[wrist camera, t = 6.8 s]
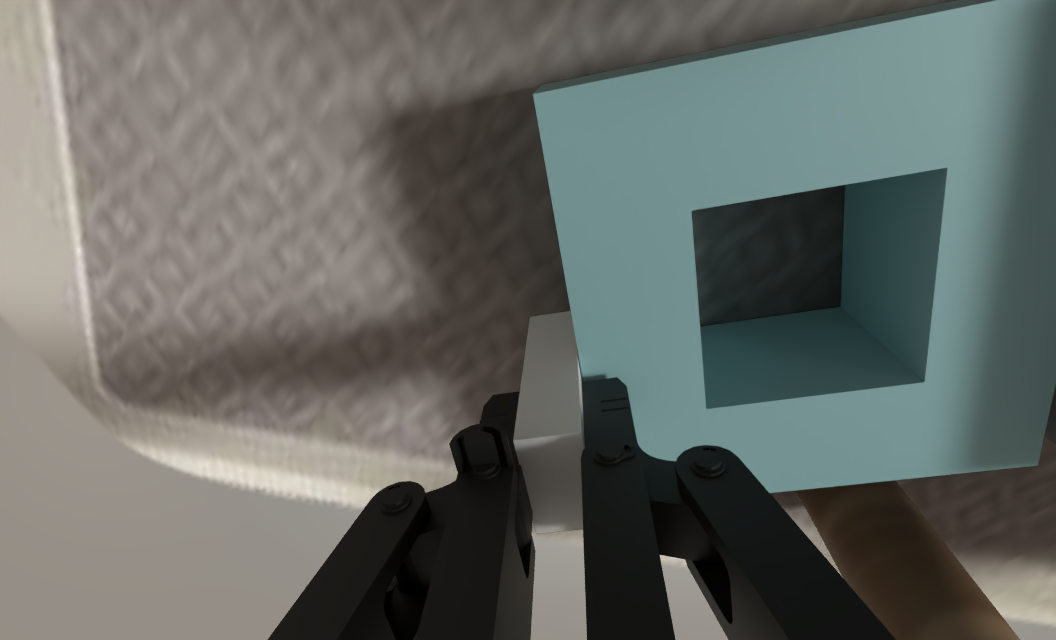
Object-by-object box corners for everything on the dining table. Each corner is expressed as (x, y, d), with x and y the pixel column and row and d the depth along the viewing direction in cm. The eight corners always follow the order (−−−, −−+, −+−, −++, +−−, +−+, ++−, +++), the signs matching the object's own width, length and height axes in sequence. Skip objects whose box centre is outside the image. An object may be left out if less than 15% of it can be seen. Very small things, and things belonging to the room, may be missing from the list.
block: (541, 85, 17) (532, 94, 13) (974, -4, 15) (1144, -30, 11) (597, 416, 22) (605, 509, 17) (932, 374, 20) (1038, 465, 16)
